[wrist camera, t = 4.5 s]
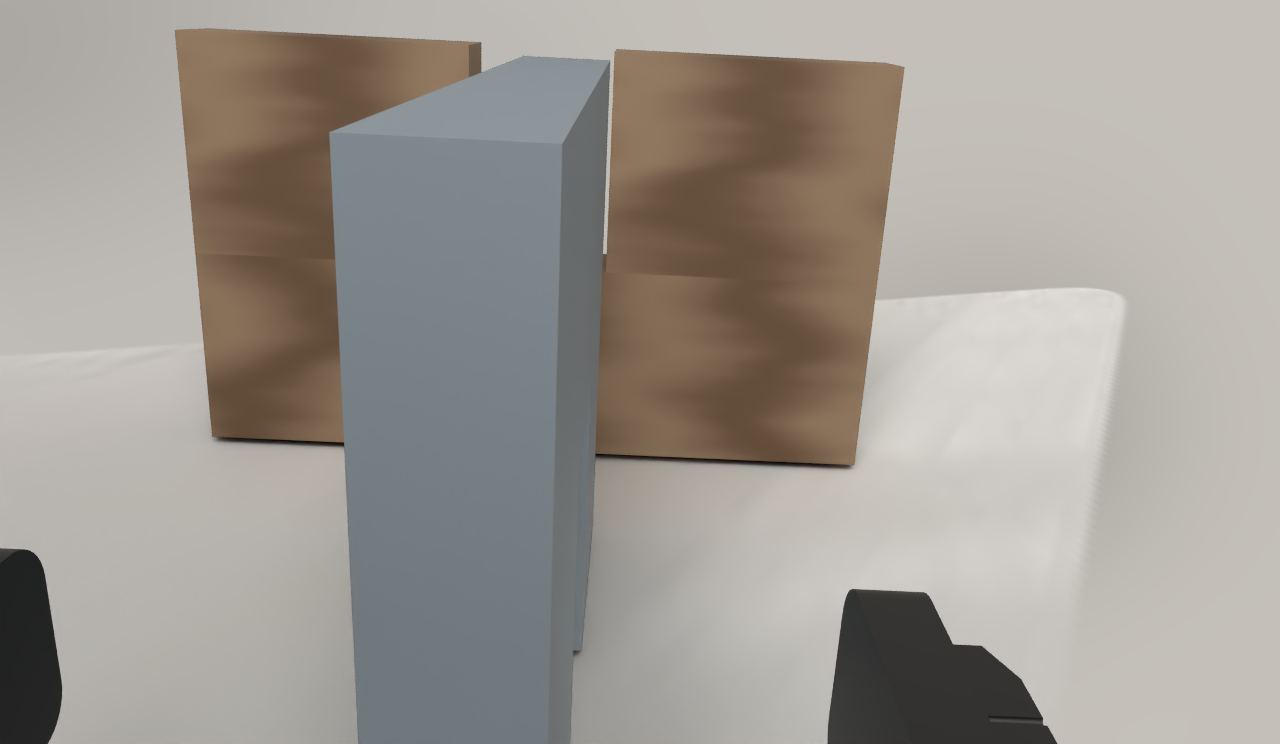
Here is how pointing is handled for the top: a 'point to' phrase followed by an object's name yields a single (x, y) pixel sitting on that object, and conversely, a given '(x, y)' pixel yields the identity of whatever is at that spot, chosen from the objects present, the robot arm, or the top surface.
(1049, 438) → the top surface
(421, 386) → the slate plate
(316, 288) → the walnut board
